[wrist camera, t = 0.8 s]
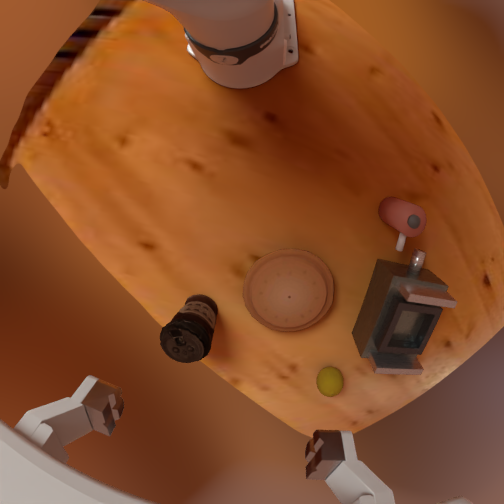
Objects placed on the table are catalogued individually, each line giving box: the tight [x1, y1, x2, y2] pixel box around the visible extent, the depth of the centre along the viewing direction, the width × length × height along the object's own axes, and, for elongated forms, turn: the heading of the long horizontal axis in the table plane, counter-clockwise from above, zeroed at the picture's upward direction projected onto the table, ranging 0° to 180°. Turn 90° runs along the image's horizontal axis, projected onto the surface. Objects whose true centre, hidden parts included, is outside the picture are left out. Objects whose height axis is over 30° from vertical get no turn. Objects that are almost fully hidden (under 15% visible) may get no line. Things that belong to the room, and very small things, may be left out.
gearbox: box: [352, 248, 457, 375], centre depth 43 cm, size 20×12×13 cm, turn 170°
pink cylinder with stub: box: [379, 197, 426, 251], centre depth 41 cm, size 8×5×10 cm, turn 170°
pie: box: [243, 249, 334, 332], centre depth 48 cm, size 16×16×5 cm
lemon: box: [317, 367, 343, 397], centre depth 52 cm, size 6×6×8 cm
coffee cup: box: [160, 294, 217, 363], centre depth 47 cm, size 9×8×13 cm
